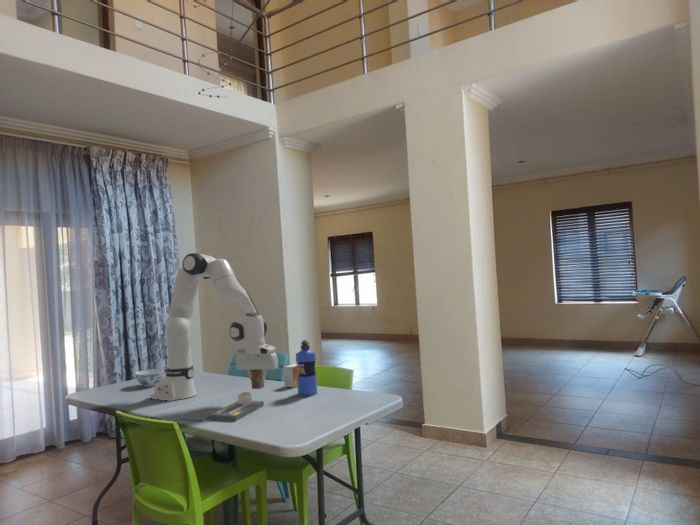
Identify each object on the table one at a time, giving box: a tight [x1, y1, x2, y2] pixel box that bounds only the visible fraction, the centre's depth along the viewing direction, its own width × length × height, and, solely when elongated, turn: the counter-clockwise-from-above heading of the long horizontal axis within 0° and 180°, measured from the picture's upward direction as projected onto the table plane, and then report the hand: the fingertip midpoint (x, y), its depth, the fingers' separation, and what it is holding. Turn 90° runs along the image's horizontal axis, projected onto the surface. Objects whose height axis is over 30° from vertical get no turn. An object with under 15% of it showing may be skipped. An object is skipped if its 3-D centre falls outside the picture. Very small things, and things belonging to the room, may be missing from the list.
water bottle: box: [295, 339, 318, 397], centre depth 231 cm, size 9×9×25 cm
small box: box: [283, 363, 298, 389], centre depth 248 cm, size 8×6×10 cm
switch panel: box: [209, 400, 265, 422], centre depth 205 cm, size 12×22×3 cm, turn 161°
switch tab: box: [237, 391, 253, 405], centre depth 211 cm, size 4×4×4 cm
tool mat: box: [179, 410, 215, 422], centre depth 202 cm, size 11×11×1 cm
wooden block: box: [250, 370, 265, 390], centre depth 221 cm, size 4×4×8 cm
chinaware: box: [134, 368, 165, 388], centre depth 268 cm, size 15×15×8 cm
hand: (257, 379), depth 221 cm, fingers closed on wooden block, 4 cm apart
